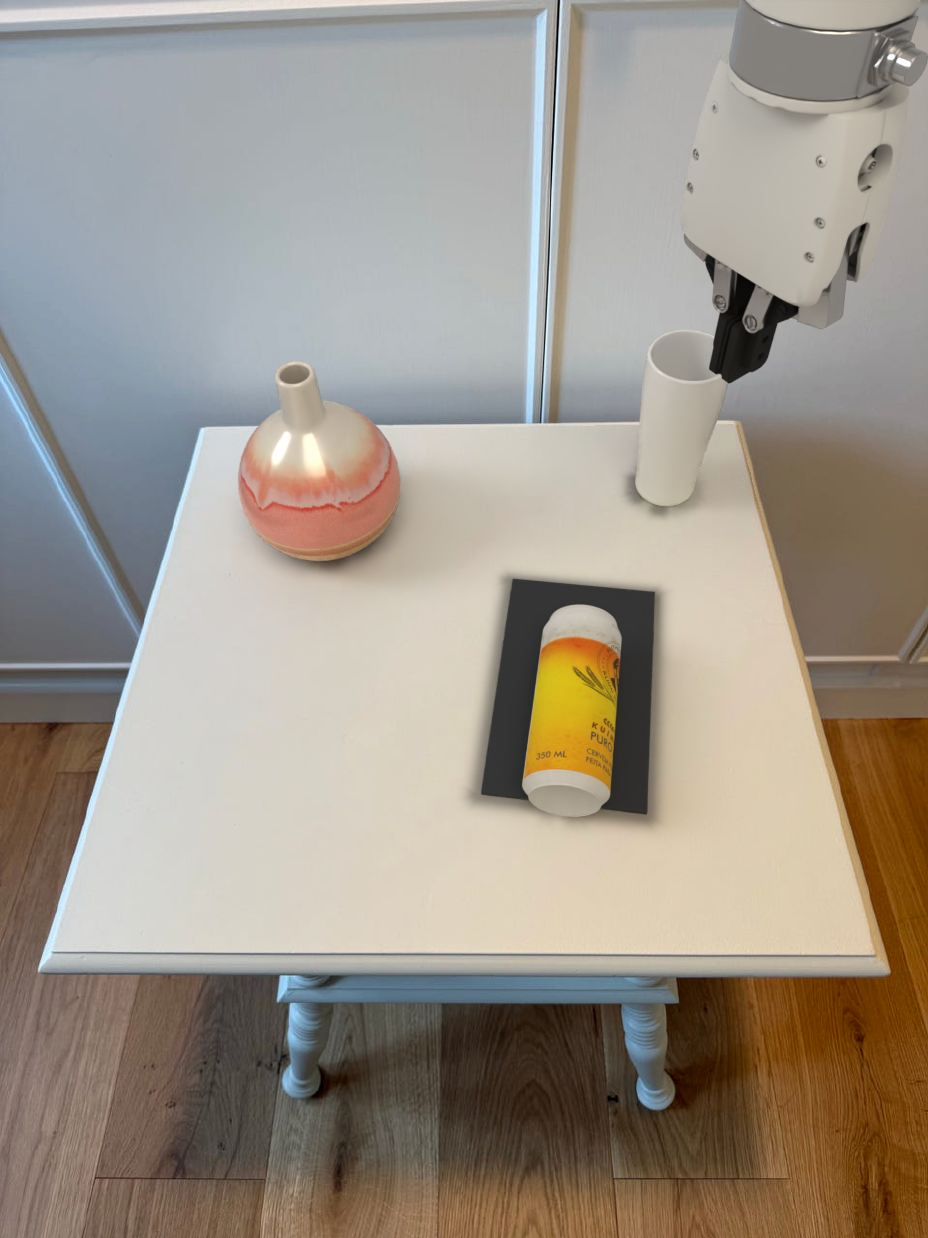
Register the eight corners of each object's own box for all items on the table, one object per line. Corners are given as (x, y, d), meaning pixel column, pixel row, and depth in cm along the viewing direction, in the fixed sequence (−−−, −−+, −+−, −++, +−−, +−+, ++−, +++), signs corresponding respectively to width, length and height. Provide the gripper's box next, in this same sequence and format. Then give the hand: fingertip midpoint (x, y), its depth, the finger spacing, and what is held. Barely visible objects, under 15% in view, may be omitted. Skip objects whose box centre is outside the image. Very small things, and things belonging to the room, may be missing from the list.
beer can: (607, 784, 60) (621, 602, 69) (515, 778, 62) (540, 600, 70) (611, 823, 65) (623, 648, 74) (526, 816, 66) (548, 645, 75)
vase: (375, 456, 88) (350, 297, 74) (429, 556, 81) (412, 401, 67) (237, 502, 86) (183, 345, 71) (280, 610, 78) (229, 459, 64)
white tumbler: (706, 514, 83) (741, 381, 70) (631, 516, 83) (652, 385, 71) (694, 460, 87) (725, 326, 74) (622, 463, 87) (641, 329, 74)
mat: (654, 594, 78) (655, 591, 77) (646, 814, 66) (647, 812, 66) (512, 581, 79) (512, 578, 79) (481, 794, 68) (481, 792, 67)
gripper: (1015, 73, 39) (875, 406, 54) (753, -32, 46) (693, 287, 61) (898, 131, 37) (785, 463, 52) (642, 11, 44) (608, 332, 59)
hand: (736, 367), depth 56 cm, fingers closed
